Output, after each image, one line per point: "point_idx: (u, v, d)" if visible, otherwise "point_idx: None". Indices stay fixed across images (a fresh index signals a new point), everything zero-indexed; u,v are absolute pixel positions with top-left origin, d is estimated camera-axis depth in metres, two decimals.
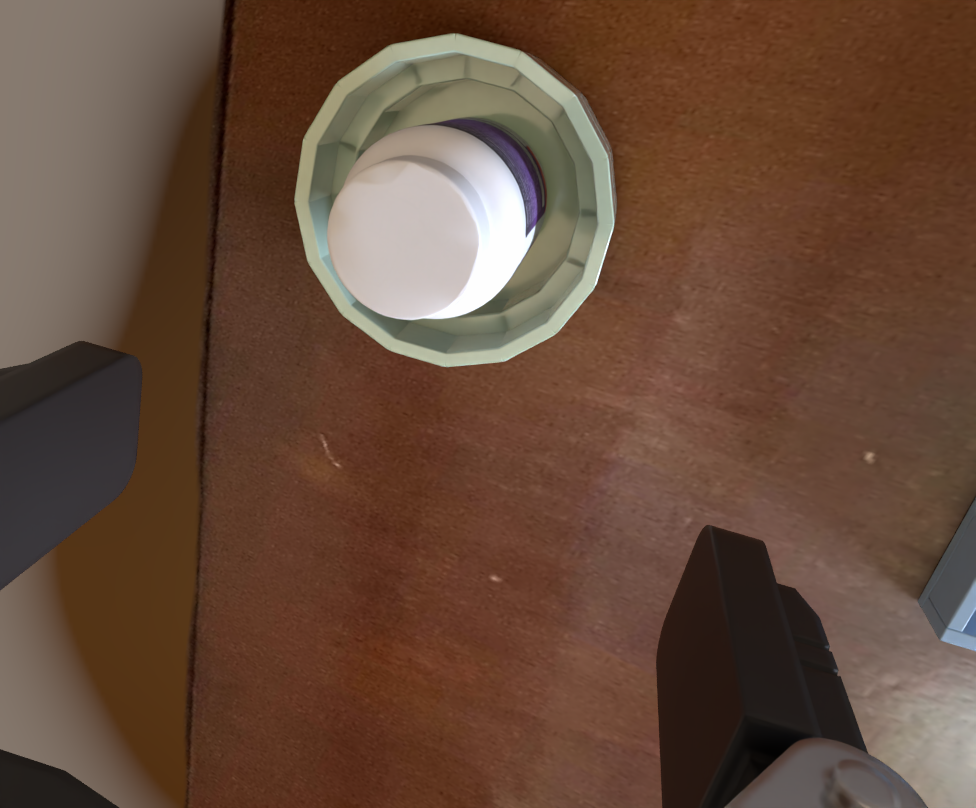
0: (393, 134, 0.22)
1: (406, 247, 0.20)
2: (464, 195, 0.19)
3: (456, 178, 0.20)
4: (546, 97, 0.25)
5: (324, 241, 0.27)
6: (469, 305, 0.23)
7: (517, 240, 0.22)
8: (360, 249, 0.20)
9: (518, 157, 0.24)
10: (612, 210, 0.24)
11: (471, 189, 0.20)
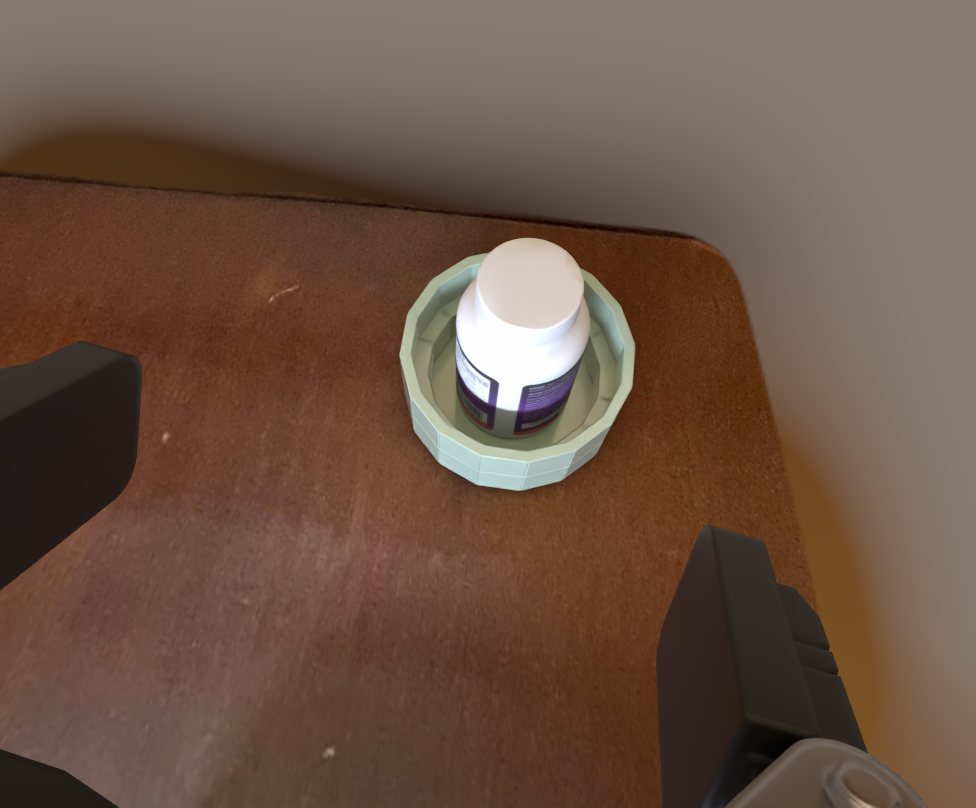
0: None
1: (528, 285, 0.29)
2: (568, 319, 0.29)
3: (574, 317, 0.30)
4: (597, 418, 0.36)
5: None
6: (474, 346, 0.31)
7: (526, 374, 0.31)
8: (521, 257, 0.30)
9: (563, 392, 0.34)
10: (538, 460, 0.33)
11: (566, 330, 0.30)
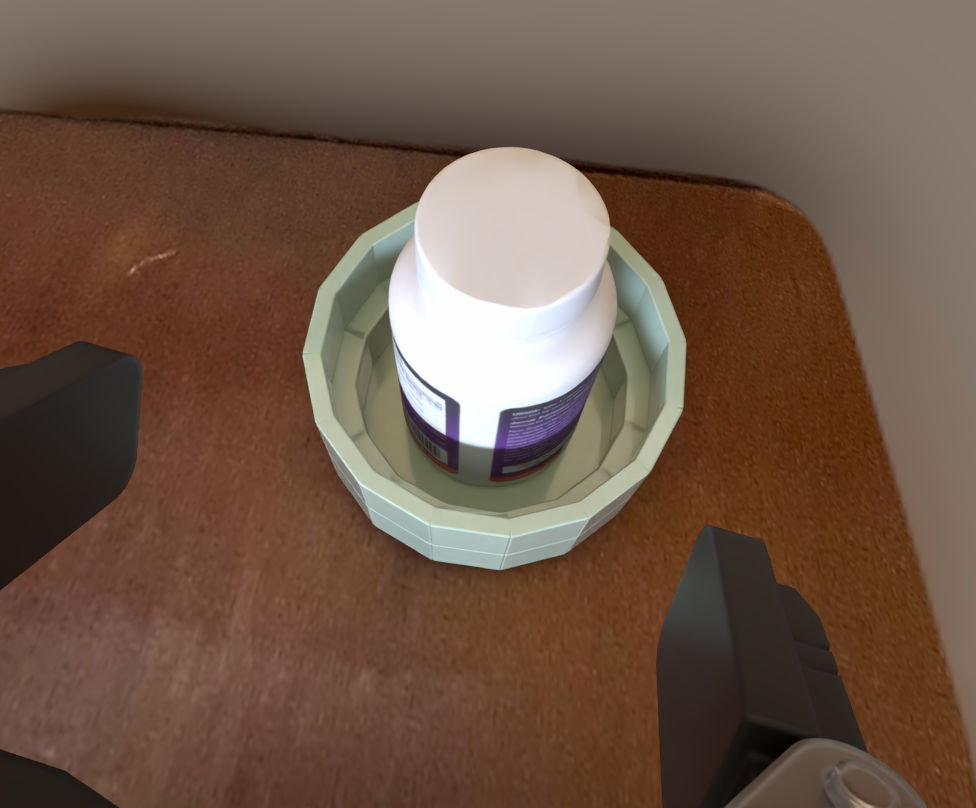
0: None
1: (508, 229, 0.16)
2: (582, 290, 0.16)
3: (593, 288, 0.16)
4: (623, 458, 0.22)
5: None
6: (416, 340, 0.18)
7: (505, 391, 0.17)
8: (497, 180, 0.17)
9: (570, 418, 0.21)
10: (527, 533, 0.19)
11: (578, 311, 0.16)
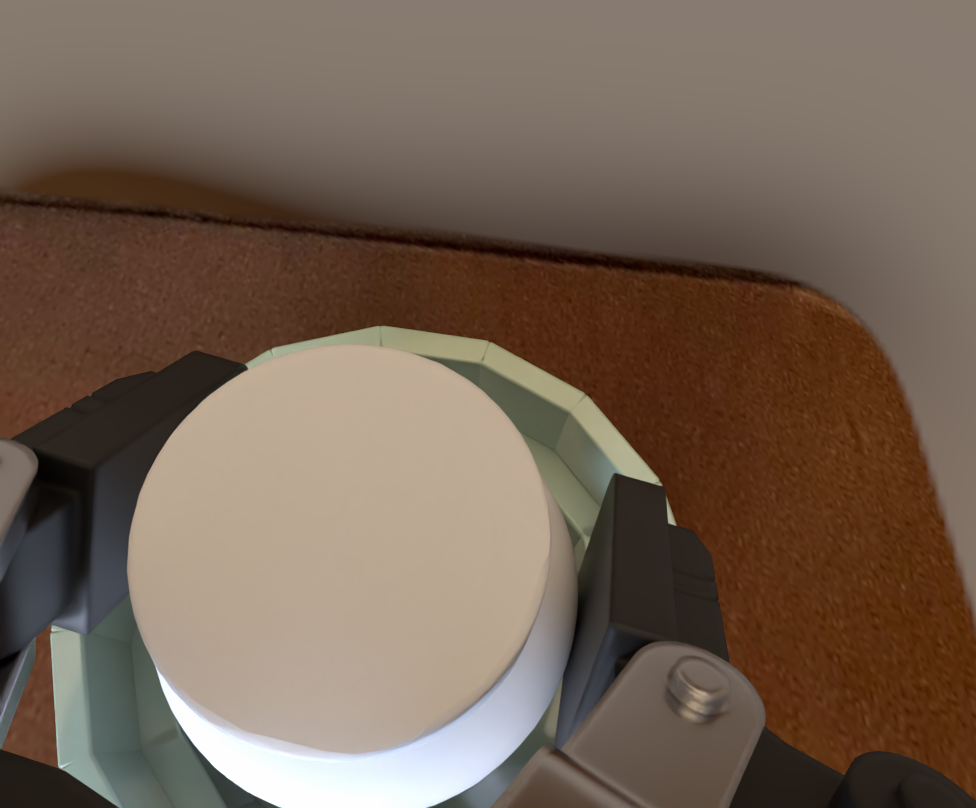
0: (551, 494, 0.11)
1: (330, 541, 0.07)
2: (483, 694, 0.07)
3: (515, 659, 0.08)
4: None
5: None
6: (182, 703, 0.09)
7: None
8: (318, 423, 0.08)
9: None
10: None
11: (486, 698, 0.08)
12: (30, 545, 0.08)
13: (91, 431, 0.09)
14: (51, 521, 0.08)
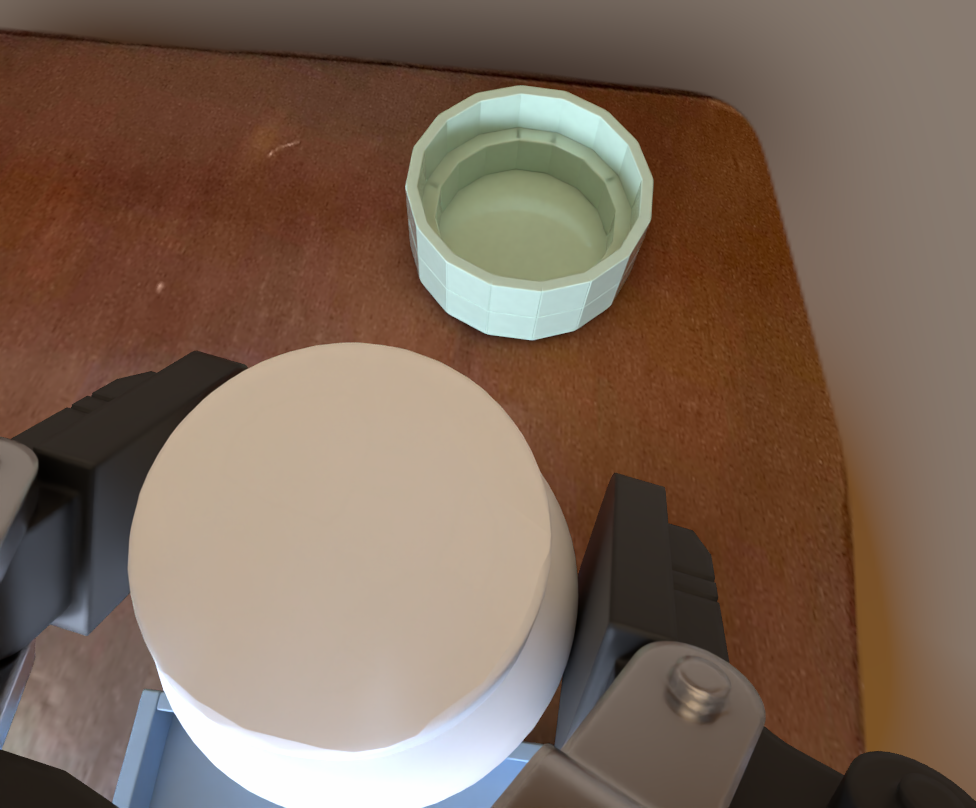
0: (552, 493, 0.11)
1: (332, 540, 0.07)
2: (484, 692, 0.07)
3: (515, 657, 0.08)
4: None
5: (490, 109, 0.35)
6: (183, 702, 0.09)
7: None
8: (318, 422, 0.08)
9: None
10: (552, 290, 0.31)
11: (486, 696, 0.08)
12: (31, 544, 0.08)
13: (91, 431, 0.09)
14: (51, 521, 0.08)
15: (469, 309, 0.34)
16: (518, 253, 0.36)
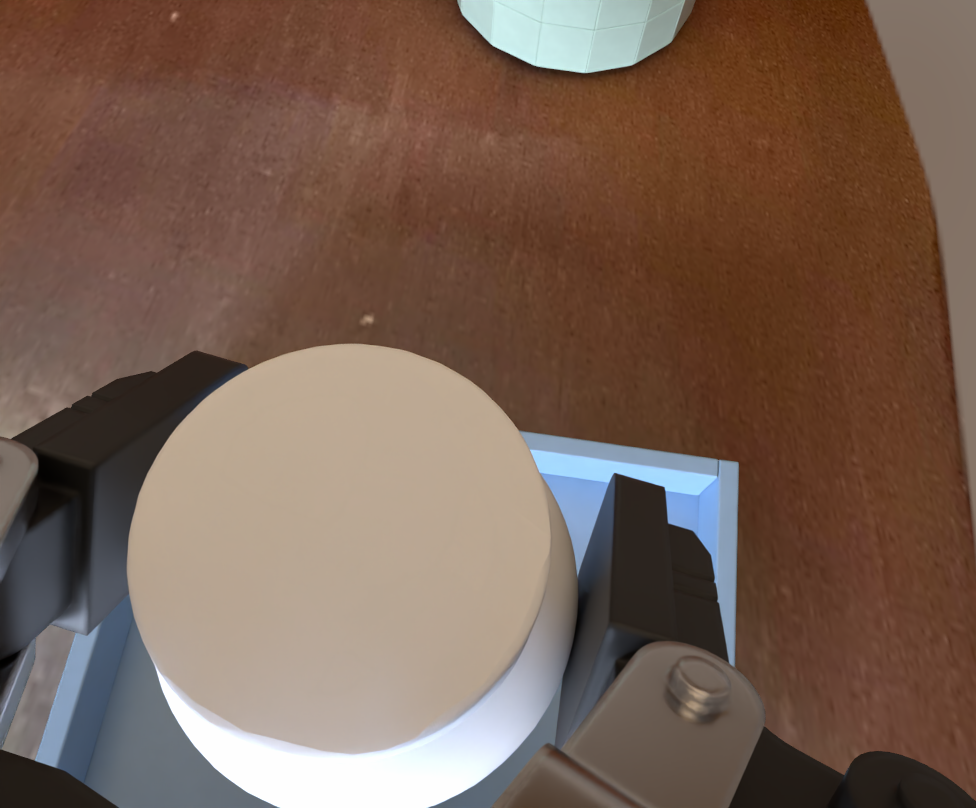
0: (551, 494, 0.10)
1: (330, 540, 0.07)
2: (484, 694, 0.07)
3: (515, 659, 0.08)
4: None
5: None
6: (182, 703, 0.09)
7: None
8: (318, 423, 0.08)
9: None
10: None
11: (486, 698, 0.08)
12: (29, 544, 0.08)
13: (91, 431, 0.09)
14: (51, 521, 0.08)
15: (518, 28, 0.30)
16: None
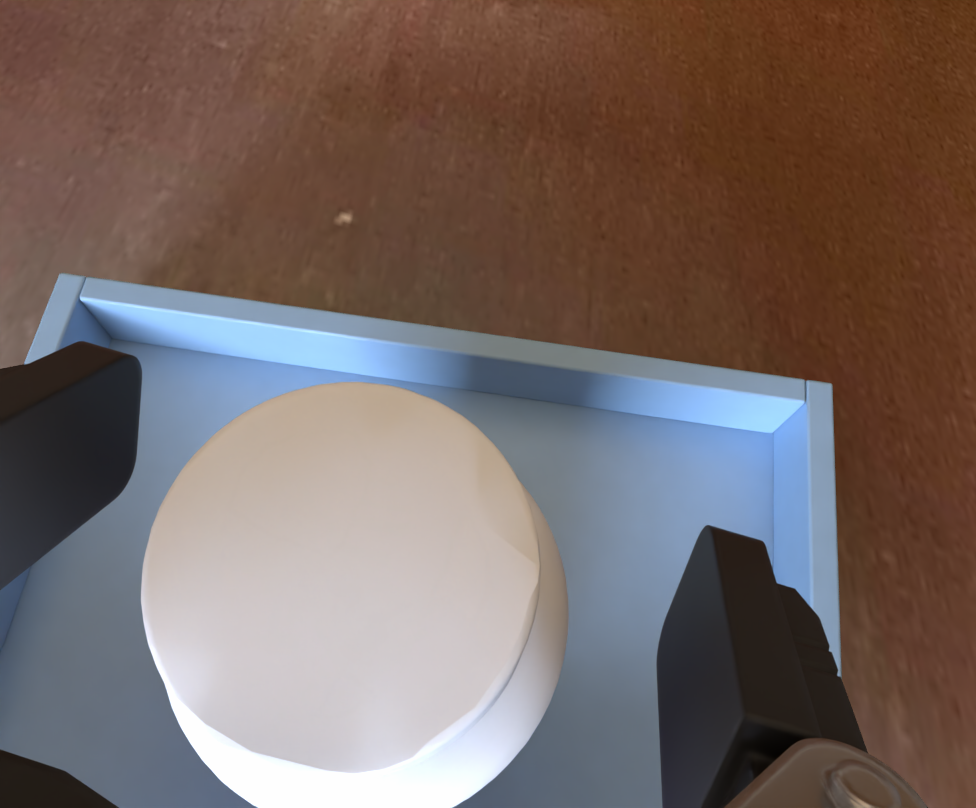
0: (543, 518, 0.11)
1: (332, 572, 0.08)
2: (476, 717, 0.08)
3: None
4: None
5: None
6: (191, 720, 0.10)
7: None
8: (320, 458, 0.08)
9: None
10: None
11: (479, 718, 0.08)
12: None
13: None
14: None
15: None
16: None
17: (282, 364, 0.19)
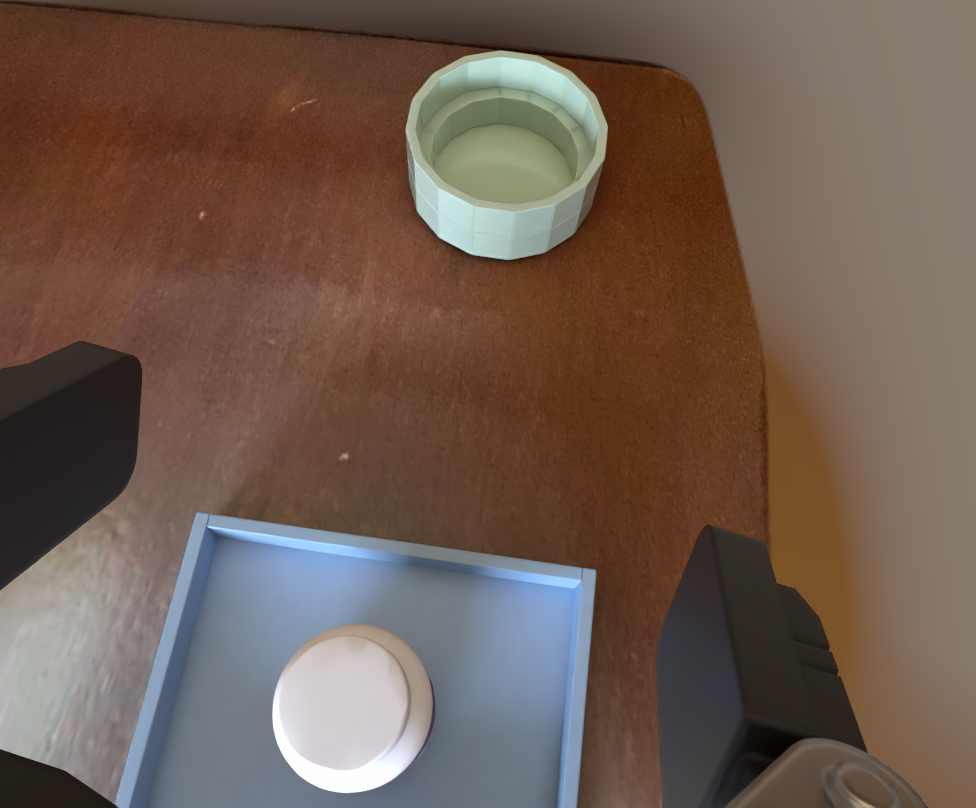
0: (423, 669, 0.27)
1: (339, 705, 0.24)
2: (384, 753, 0.24)
3: (397, 740, 0.25)
4: None
5: (475, 70, 0.42)
6: (287, 752, 0.26)
7: (346, 789, 0.26)
8: (335, 664, 0.25)
9: None
10: (523, 211, 0.38)
11: (388, 752, 0.25)
12: None
13: None
14: None
15: (457, 231, 0.41)
16: (498, 191, 0.44)
17: (310, 551, 0.36)
